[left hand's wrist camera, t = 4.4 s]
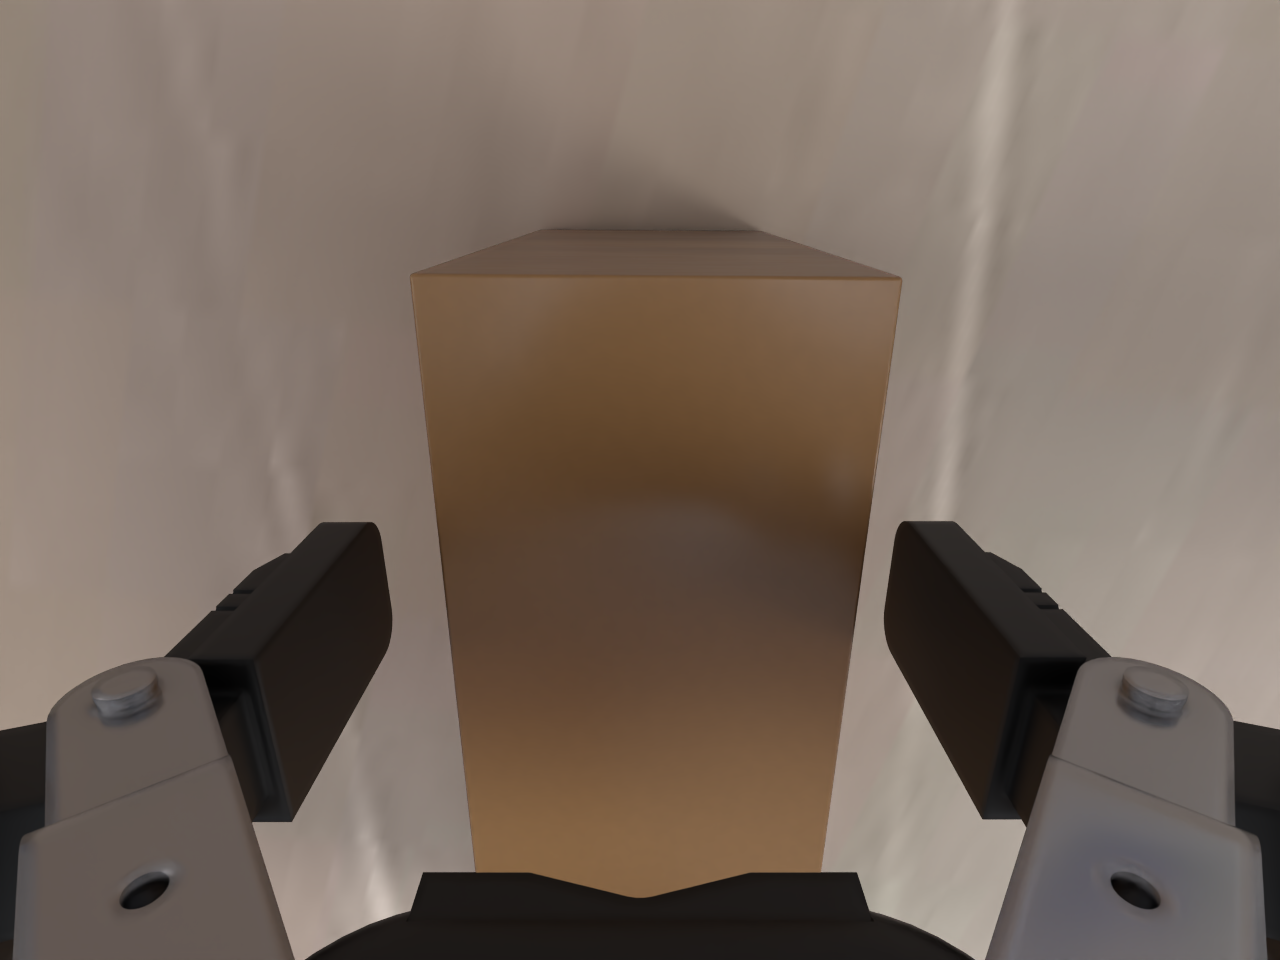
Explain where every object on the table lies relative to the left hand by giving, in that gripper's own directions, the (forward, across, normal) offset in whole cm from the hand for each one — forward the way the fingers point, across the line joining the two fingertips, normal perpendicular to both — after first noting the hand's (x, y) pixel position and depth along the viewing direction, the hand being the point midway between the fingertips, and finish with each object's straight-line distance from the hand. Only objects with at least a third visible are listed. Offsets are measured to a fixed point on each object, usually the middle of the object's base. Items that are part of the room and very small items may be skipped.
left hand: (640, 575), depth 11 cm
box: (+11, 0, -9) cm, 14 cm away
